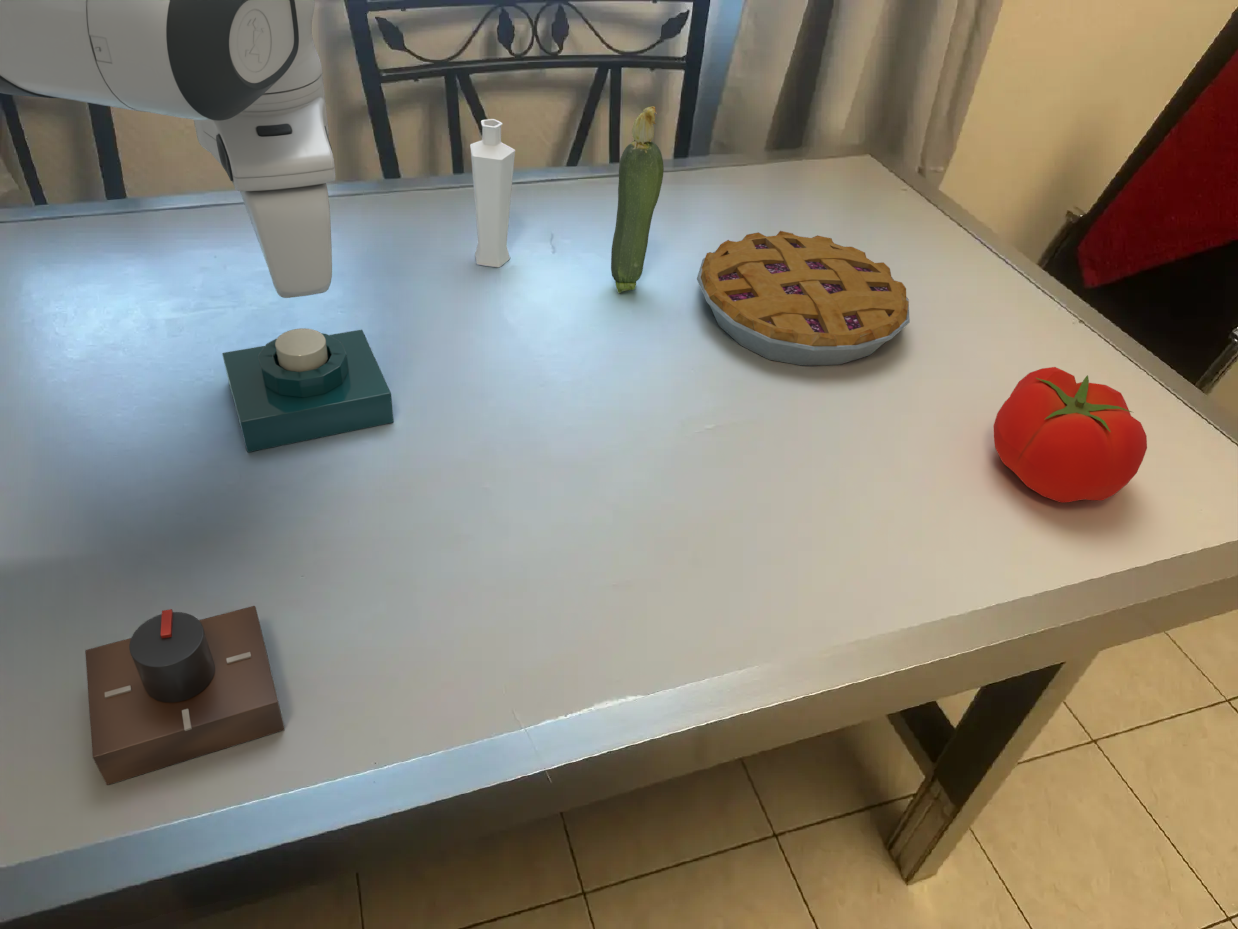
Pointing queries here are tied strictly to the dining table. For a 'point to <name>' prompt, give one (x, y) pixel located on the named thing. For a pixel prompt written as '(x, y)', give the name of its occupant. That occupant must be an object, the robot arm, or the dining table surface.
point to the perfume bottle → (492, 193)
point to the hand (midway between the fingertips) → (287, 286)
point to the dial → (172, 656)
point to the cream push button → (301, 350)
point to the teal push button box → (307, 393)
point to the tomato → (1069, 437)
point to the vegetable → (636, 201)
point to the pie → (802, 298)
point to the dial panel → (181, 702)
